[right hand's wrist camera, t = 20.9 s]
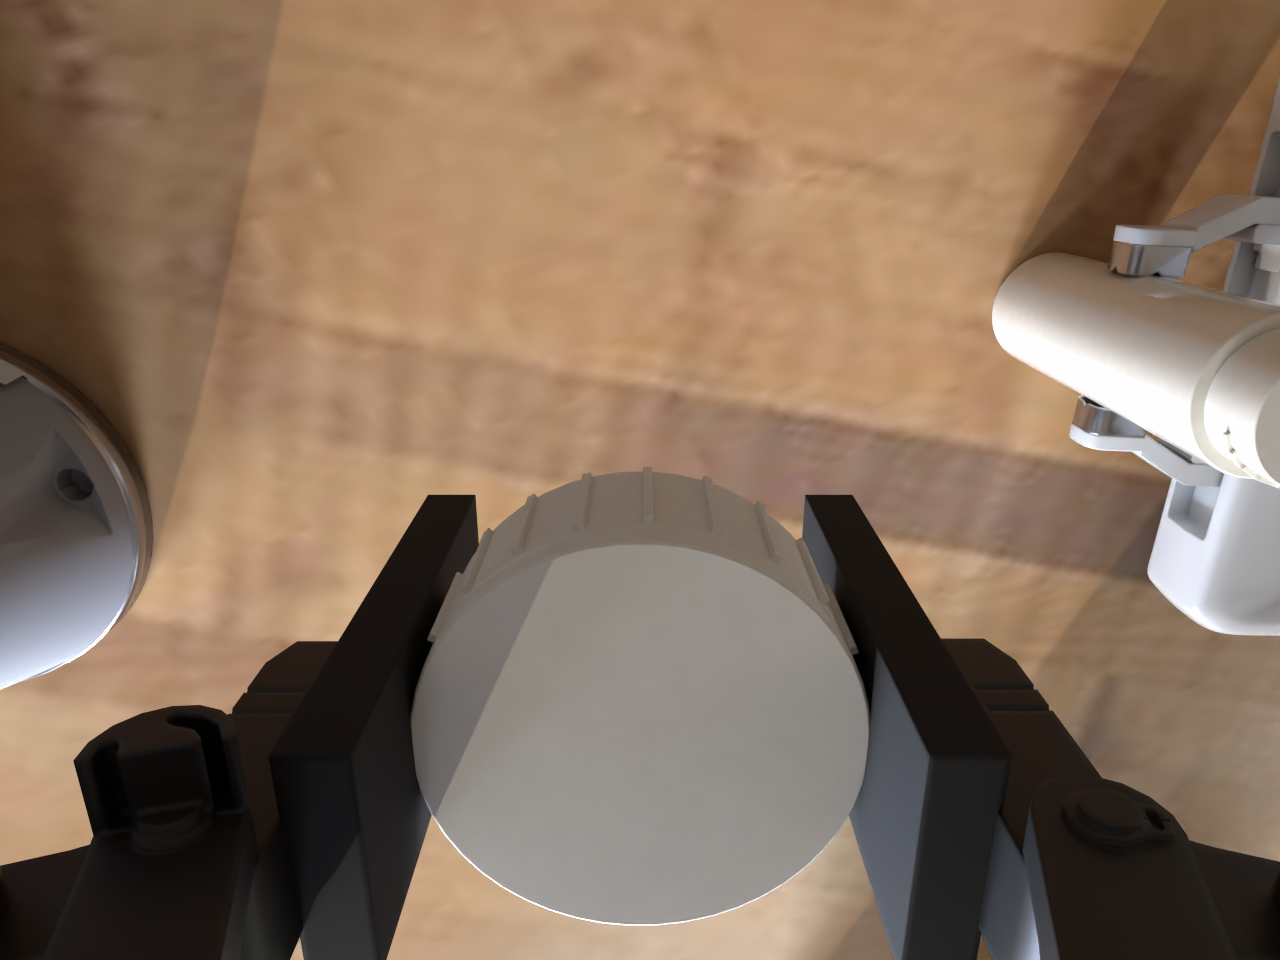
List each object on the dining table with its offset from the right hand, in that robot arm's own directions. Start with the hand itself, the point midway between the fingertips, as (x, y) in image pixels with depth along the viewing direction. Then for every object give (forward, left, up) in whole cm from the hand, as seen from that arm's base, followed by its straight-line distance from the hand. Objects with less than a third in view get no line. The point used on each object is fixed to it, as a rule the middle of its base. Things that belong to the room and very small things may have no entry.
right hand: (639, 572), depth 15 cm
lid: (0, 0, +4) cm, 4 cm away
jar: (+8, -14, -22) cm, 28 cm away
